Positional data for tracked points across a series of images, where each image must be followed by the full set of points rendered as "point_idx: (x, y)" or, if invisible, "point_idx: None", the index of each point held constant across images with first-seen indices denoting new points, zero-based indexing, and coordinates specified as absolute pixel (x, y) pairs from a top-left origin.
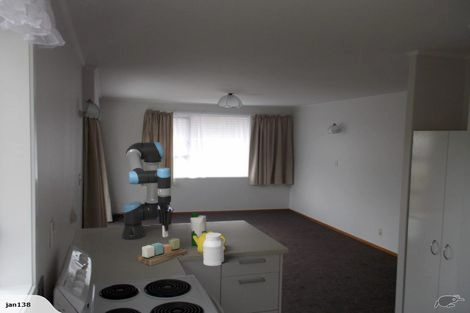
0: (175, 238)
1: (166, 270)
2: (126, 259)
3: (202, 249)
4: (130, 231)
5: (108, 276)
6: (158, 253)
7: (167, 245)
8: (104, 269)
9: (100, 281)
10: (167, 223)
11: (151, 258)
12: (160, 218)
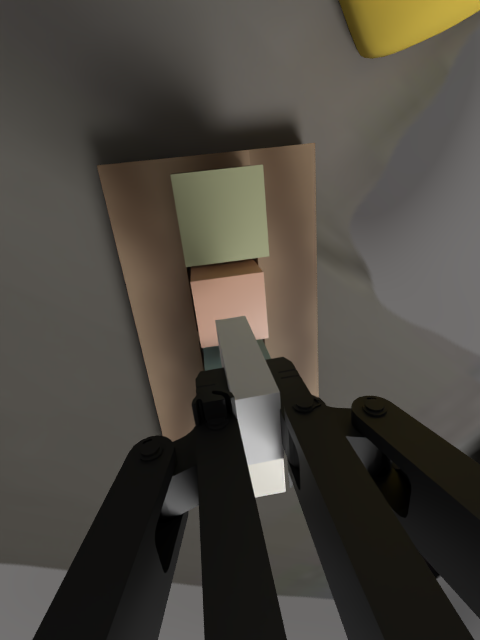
0: (203, 180)
1: (417, 396)
2: (115, 471)
3: (437, 32)
4: None
5: (277, 568)
6: None
7: (242, 300)
8: (189, 565)
9: (300, 591)
10: (395, 481)
11: None
12: (162, 593)
